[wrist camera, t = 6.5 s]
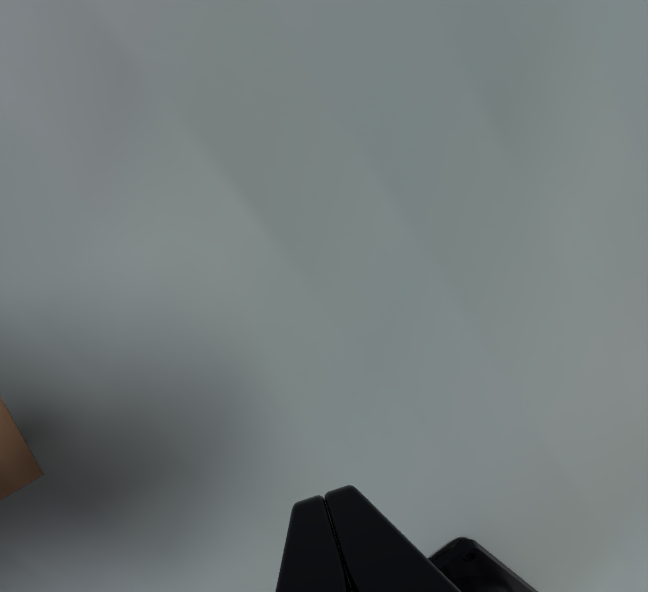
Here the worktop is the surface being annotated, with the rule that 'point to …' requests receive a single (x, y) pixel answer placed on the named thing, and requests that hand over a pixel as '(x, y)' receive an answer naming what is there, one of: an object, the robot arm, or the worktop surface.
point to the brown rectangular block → (14, 456)
